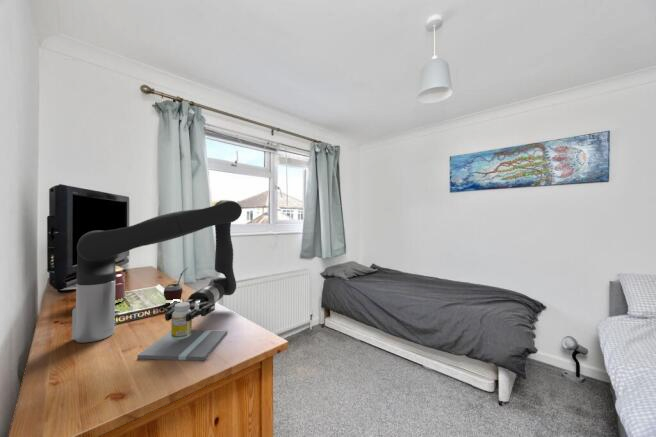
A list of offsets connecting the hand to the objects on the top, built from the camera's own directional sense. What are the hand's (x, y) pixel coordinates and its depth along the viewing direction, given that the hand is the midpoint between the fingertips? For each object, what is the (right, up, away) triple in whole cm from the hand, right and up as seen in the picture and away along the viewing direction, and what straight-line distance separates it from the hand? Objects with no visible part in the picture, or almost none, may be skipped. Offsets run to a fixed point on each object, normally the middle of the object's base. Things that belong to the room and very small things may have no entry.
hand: (177, 317), depth 76 cm
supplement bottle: (0, -7, +3) cm, 7 cm away
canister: (-52, -8, +36) cm, 64 cm away
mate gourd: (-24, -8, +38) cm, 46 cm away
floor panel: (+1, -9, +2) cm, 10 cm away
